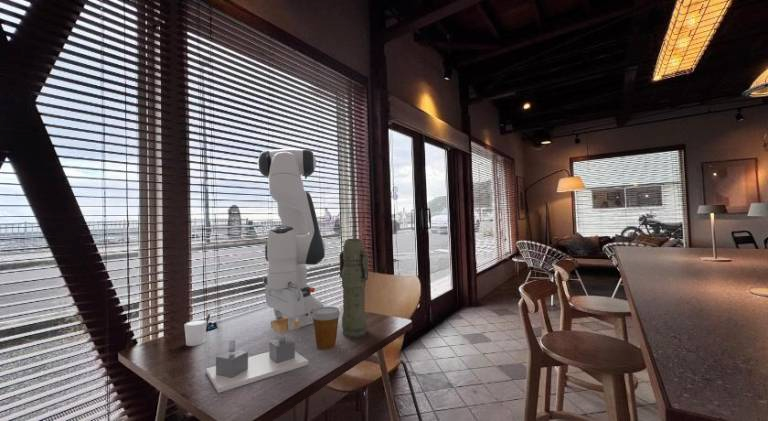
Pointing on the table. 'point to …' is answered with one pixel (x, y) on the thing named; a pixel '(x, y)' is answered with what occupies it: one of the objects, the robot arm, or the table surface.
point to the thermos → (354, 287)
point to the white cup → (195, 332)
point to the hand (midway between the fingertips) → (285, 326)
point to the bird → (210, 324)
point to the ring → (283, 325)
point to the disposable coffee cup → (325, 326)
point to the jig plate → (254, 364)
